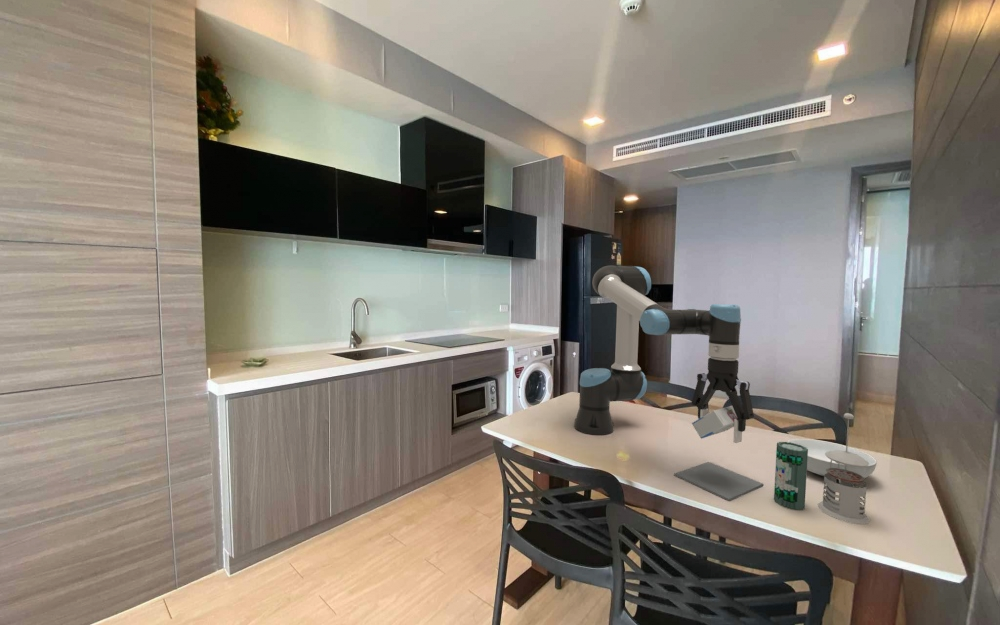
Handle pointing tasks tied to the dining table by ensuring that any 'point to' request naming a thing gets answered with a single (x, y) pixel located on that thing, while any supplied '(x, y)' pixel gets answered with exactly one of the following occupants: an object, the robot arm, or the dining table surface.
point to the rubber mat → (719, 480)
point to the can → (790, 475)
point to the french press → (845, 487)
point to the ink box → (715, 422)
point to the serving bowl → (821, 462)
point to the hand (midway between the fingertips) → (719, 436)
